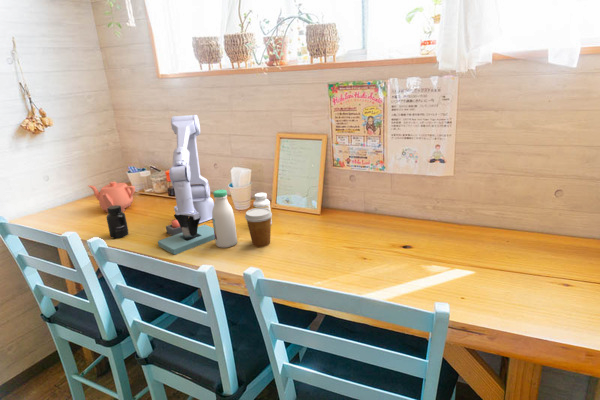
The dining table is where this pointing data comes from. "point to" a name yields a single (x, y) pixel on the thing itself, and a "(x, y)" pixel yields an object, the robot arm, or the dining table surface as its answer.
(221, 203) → the milk bottle
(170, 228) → the button housing
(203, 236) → the plate
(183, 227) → the cylinder
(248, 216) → the disposable coffee cup
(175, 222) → the button
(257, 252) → the dining table surface
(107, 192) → the teapot
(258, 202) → the supplement bottle
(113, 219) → the supplement bottle
